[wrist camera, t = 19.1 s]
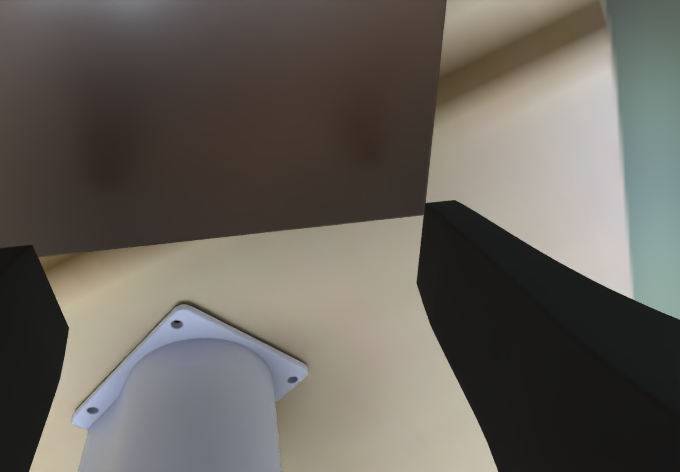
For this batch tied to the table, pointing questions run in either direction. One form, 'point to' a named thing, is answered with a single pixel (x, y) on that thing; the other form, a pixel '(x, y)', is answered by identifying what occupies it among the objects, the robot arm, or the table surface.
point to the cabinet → (211, 117)
